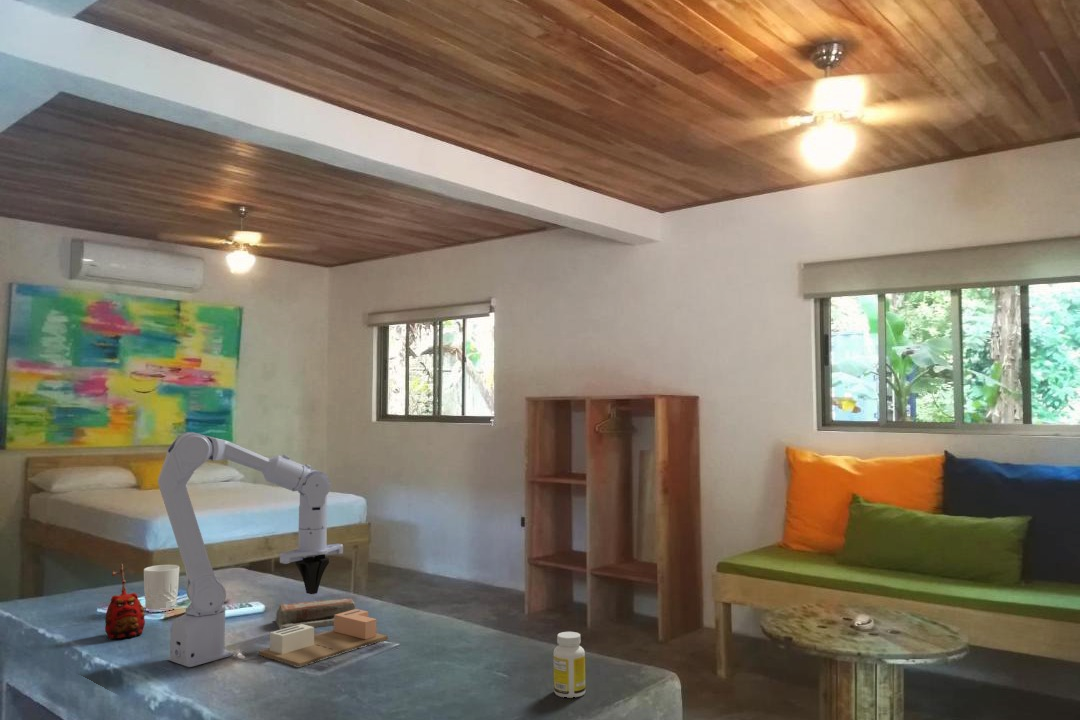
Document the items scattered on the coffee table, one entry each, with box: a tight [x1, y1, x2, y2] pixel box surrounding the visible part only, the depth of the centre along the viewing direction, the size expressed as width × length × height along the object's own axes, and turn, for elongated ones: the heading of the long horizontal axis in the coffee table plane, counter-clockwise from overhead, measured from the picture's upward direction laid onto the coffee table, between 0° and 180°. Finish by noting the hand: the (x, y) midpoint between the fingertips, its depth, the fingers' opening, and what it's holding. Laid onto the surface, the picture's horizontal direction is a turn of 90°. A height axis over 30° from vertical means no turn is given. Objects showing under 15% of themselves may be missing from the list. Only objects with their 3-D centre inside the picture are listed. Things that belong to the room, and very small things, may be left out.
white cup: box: [143, 564, 181, 609], centre depth 194 cm, size 8×8×10 cm
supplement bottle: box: [552, 631, 586, 699], centre depth 137 cm, size 5×5×10 cm
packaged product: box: [274, 598, 356, 630], centre depth 183 cm, size 18×5×10 cm
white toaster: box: [269, 624, 315, 654], centre depth 161 cm, size 8×4×4 cm, turn 143°
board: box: [258, 629, 389, 666], centre depth 163 cm, size 22×13×1 cm, turn 143°
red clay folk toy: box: [104, 563, 146, 640], centre depth 173 cm, size 8×7×15 cm
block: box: [333, 608, 378, 639], centre depth 171 cm, size 6×10×4 cm, turn 53°
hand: (311, 593), depth 168 cm, fingers closed
